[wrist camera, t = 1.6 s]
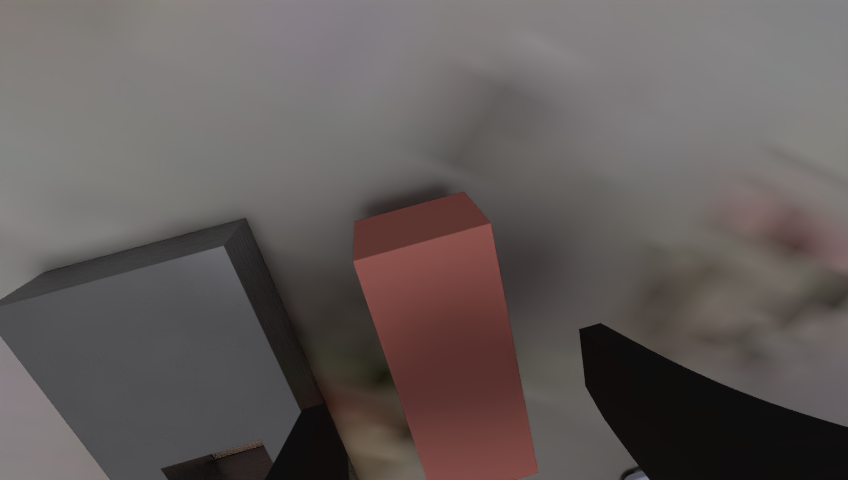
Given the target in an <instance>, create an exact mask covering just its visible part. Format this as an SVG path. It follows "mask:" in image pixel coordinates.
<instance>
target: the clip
mask: <svg viewBox="0 0 848 480" xmlns="http://www.w3.org/2000/svg"><path fill="white" fill-rule="evenodd" d="M353 263H354V266H355V269H356V272H357V275H358V278H359V281H360V284H361V287H362V290H363V293H364V296H365V299H366V301H367V304H368V307H369V310H370V313H371V316H372V319H373V322H374V325H375V328H376V331H377V334H378V337H379V340H380V343H381V346H382V349H383V351H384V354H385V357H386V360H387V363H388V366H389V369H390V372H391V375H392V378H393V381H394V384H395V387H396V390H397V393H398V396H399V399H400V401H401V404H402V407H403V410H404V413H405V416H406V419H407V422H408V425H409V428H410V431H411V434H412V437H413V440H414V443H415V446H416V449H417V451H418V454H419V457H420V460H421V463H422V466H423V469H424V472H425V475H426V478H427V480H516V479H519V478H523V477H526V476H529V475H533V474H536V473H538V469H537V464H536V459H535V454H534V448H533V443H532V438H531V433H530V427H529V422H528V417H527V412H526V406H525V401H524V396H523V390H522V385H521V380H520V375H519V369H518V364H517V359H516V354H515V348H514V343H513V338H512V333H511V327H510V322H509V317H508V312H507V306H506V301H505V296H504V290H503V285H502V280H501V275H500V269H499V264H498V259H497V254H496V248H495V243H494V238H493V233H492V227H491V223H490V222H489V221H488V219H487V218H486V217H485V216H484V215H483V214H482V212H481V211H480V210H479V209H478V208H477V206H476V205H475V204H474V203H473V202H472V201H471V199H470V198H469V197H468V196H467V195H466V193H465V192H461V193H457V194H453V195H450V196H446V197H442V198H439V199H435V200H431V201H428V202H424V203H420V204H417V205H413V206H409V207H406V208H402V209H398V210H395V211H391V212H387V213H384V214H380V215H376V216H373V217H369V218H365V219H362V220H358V221H355V226H354V248H353Z"/></svg>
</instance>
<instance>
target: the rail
mask: <svg viewBox="0 0 848 480" xmlns="http://www.w3.org/2000/svg"><path fill="white" fill-rule="evenodd" d="M0 336H1V337H2V339H3V340H4V341H5V342H6V344H7V345H8V346H9V348H10V349H11V350H12V352H13V353H14V354H15V356H16V357H17V358H18V360H19V361H20V362H21V363H22V365H23V366H24V367H25V369H26V370H27V371H28V373H29V374H30V375H31V377H32V378H33V379H34V380H35V382H36V383H37V384H38V386H39V387H40V388H41V390H42V391H43V392H44V394H45V395H46V396H47V398H48V399H49V400H50V401H51V403H52V404H53V405H54V407H55V408H56V409H57V411H58V412H59V413H60V415H61V416H62V417H63V419H64V420H65V421H66V422H67V424H68V425H69V426H70V428H71V429H72V430H73V432H74V433H75V434H76V436H77V437H78V438H79V439H80V441H81V442H82V443H83V445H84V446H85V447H86V449H87V450H88V451H89V453H90V454H91V455H92V457H93V458H94V459H95V460H96V462H97V463H98V464H99V466H100V467H101V468H102V470H103V471H104V472H105V474H106V475H107V476H108V477H109V479H110V480H264V479H265V477H266V476H267V474H268V472H269V470H270V468H271V467H272V465H273V463H274V461H275V460H276V458H277V456H278V454H279V452H280V450H281V449H282V447H283V445H284V443H285V441H286V439H287V437H288V435H289V434H290V432H291V430H292V428H293V426H294V424H295V422H296V420H297V418H298V417H299V415H300V413H301V411H302V410H303V409H305V408H309V407H312V406H316V405H319V404H323V403H325V402H324V399H323V397H322V395H321V392H320V390H319V388H318V385H317V383H316V381H315V378H314V376H313V374H312V371H311V369H310V367H309V364H308V362H307V360H306V358H305V355H304V353H303V351H302V348H301V346H300V344H299V341H298V339H297V337H296V334H295V332H294V330H293V327H292V325H291V323H290V320H289V318H288V316H287V314H286V311H285V309H284V307H283V304H282V302H281V300H280V297H279V295H278V293H277V290H276V288H275V286H274V283H273V281H272V279H271V276H270V274H269V272H268V270H267V267H266V265H265V263H264V260H263V258H262V256H261V253H260V251H259V249H258V246H257V244H256V242H255V239H254V237H253V235H252V232H251V230H250V228H249V226H248V223H247V221H246V219H241V220H237V221H234V222H230V223H226V224H223V225H219V226H215V227H212V228H208V229H204V230H200V231H197V232H193V233H189V234H186V235H182V236H178V237H175V238H171V239H167V240H163V241H160V242H156V243H152V244H149V245H145V246H141V247H137V248H134V249H130V250H126V251H123V252H119V253H115V254H112V255H108V256H104V257H100V258H97V259H93V260H89V261H86V262H82V263H78V264H75V265H71V266H67V267H63V268H60V269H56V270H52V271H49V272H45V273H42V274H40V275H39V276H37V277H36V278H34V279H33V280H31V281H29V282H28V283H26V284H25V285H23V286H21V287H20V288H18V289H17V290H15V291H14V292H12V293H10V294H9V295H7V296H6V297H4V298H2V299H1V300H0ZM325 405H326V404H325ZM326 407H327V406H326ZM327 409H328V408H327ZM328 412H329V411H328ZM329 414H330V413H329ZM330 416H331V415H330ZM332 421H333V420H332ZM333 423H334V422H333ZM335 428H336V427H335ZM336 430H337V429H336ZM338 435H339V434H338ZM339 437H340V436H339ZM258 440H261V441H262V443H263V445H264V446H262V447H259V448H255V449H252V450H248V451H245V452H242V453H238V454H235V455H231V456H228V457H224V458H221V459H217V460H214V459H213V457H212V455H211V454H213V453H217V452H220V451H223V450H227V449H230V448H234V447H237V446H241V445H244V444H248V443H251V442H255V441H258ZM342 444H343V443H342ZM345 451H346V450H345ZM346 453H347V452H346ZM348 467H349V480H358V478H357V476H356V473H355V471H354V469H353V466H352V464H351V462H350V459H349V457H348Z"/></svg>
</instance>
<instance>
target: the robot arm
mask: <svg viewBox="0 0 848 480" xmlns="http://www.w3.org/2000/svg"><path fill="white" fill-rule="evenodd" d="M579 332H580V341H581V350H582V359H583V368H584V377H585V386H586V388H587V389H588V391H589V393H590V395H591V397H592V398H593V400H594V402H595V404H596V406H597V407H598V409H599V411H600V412H601V414H602V416H603V417H604V419H605V421H606V422H607V423H608V425H609V426H610V427H611V429H612V430H613V432H614V433H615V434H616V436H617V437H618V438H619V440H620V441H621V442H622V444H623V445H624V447H625V448H626V449H627V451H628V452H629V453H630V455H631V456H632V457H633V459H634V460H635V461H636V463H637V464H638V465H639V467H640V468H641V469H642V471H640V472H637V473H633V474H630V475H628V476H627V477H626V478H625V479H624V480H848V427H845V426H842V425H838V424H835V423H831V422H828V421H824V420H821V419H818V418H815V417H812V416H809V415H805V414H802V413H799V412H796V411H793V410H790V409H787V408H784V407H781V406H778V405H775V404H772V403H769V402H767V401H764V400H761V399H759V398H756V397H753V396H751V395H748V394H745V393H743V392H740V391H738V390H735V389H733V388H730V387H728V386H725V385H723V384H720V383H718V382H716V381H714V380H711V379H709V378H707V377H705V376H703V375H700V374H698V373H696V372H694V371H691V370H689V369H687V368H685V367H683V366H681V365H679V364H677V363H675V362H673V361H671V360H669V359H667V358H665V357H663V356H661V355H659V354H657V353H655V352H653V351H651V350H649V349H647V348H645V347H644V346H642V345H640V344H638V343H636V342H634V341H632V340H631V339H629V338H627V337H625V336H623V335H621V334H620V333H618V332H616V331H614V330H612V329H610V328H609V327H607V326H605V325H603V324H601V323H599V324H596V325H592V326H589V327H585V328H582V329H579ZM264 480H349V467H348V455H347V453H346V451H345V448H344V446H343V444H342V441H341V439H340V437H339V435H338V432H337V430H336V428H335V425H334V423H333V421H332V418H331V416H330V414H329V412H328V409H327V407H326V405H325V403H323V404H319V405H316V406H312V407H309V408H305V409H303V410H302V411H301V413H300V415H299V417H298V418H297V420H296V422H295V424H294V426H293V428H292V430H291V432H290V434H289V435H288V437H287V439H286V441H285V443H284V445H283V447H282V449H281V450H280V452H279V454H278V456H277V458H276V460H275V461H274V463H273V465H272V467H271V468H270V470H269V472H268V474H267V476H266V477H265V479H264Z"/></svg>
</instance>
